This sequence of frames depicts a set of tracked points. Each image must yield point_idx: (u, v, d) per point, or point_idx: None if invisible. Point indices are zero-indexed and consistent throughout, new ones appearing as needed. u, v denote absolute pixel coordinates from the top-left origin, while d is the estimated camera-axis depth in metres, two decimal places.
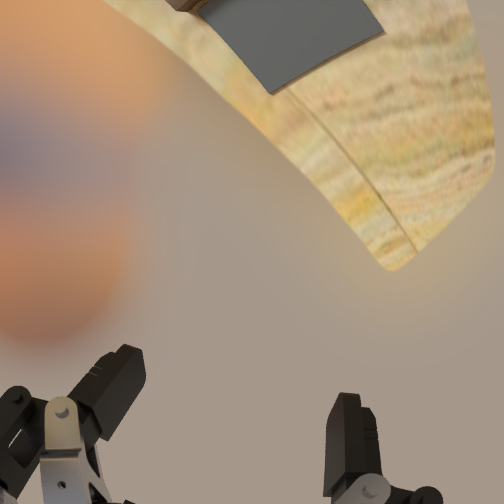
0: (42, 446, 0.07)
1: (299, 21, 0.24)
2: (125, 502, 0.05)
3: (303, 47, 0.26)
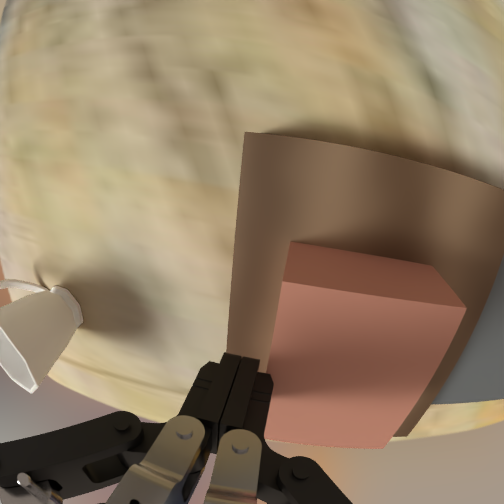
0: None
1: None
2: None
3: None
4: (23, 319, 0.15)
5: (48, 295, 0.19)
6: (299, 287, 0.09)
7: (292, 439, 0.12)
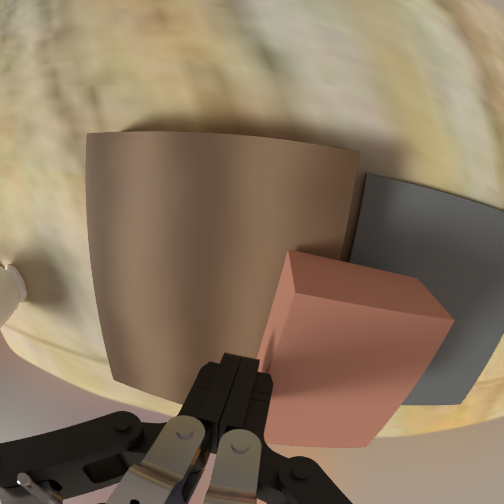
0: None
1: (457, 320, 0.16)
2: None
3: (476, 341, 0.16)
4: None
5: (0, 271, 0.21)
6: (311, 298, 0.10)
7: (281, 441, 0.13)
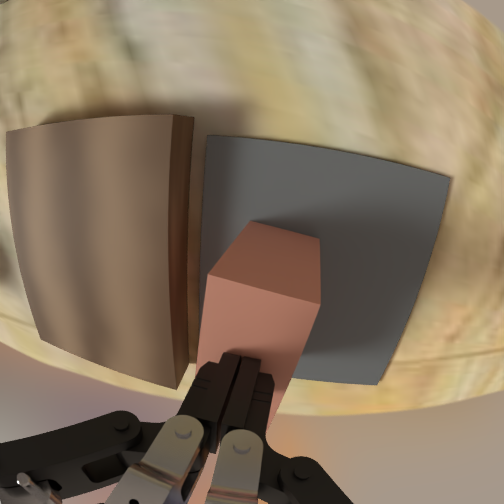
0: None
1: (340, 285, 0.17)
2: None
3: (375, 312, 0.18)
4: None
5: None
6: (319, 299, 0.10)
7: None
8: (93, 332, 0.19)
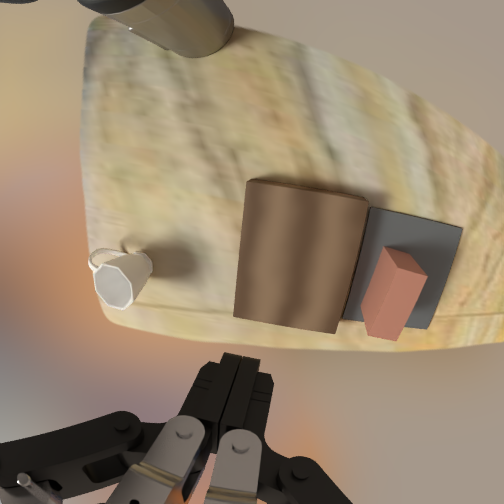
0: None
1: None
2: None
3: (428, 288, 0.36)
4: (127, 265, 0.36)
5: (135, 255, 0.40)
6: (425, 275, 0.29)
7: None
8: (293, 304, 0.37)
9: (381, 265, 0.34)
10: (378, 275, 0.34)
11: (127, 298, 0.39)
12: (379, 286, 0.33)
